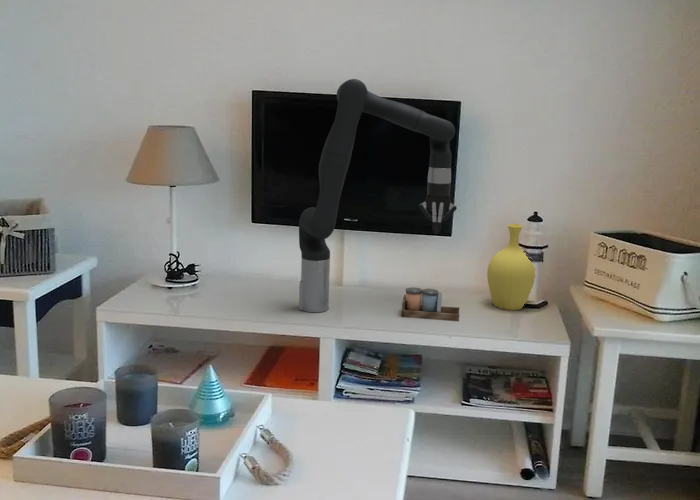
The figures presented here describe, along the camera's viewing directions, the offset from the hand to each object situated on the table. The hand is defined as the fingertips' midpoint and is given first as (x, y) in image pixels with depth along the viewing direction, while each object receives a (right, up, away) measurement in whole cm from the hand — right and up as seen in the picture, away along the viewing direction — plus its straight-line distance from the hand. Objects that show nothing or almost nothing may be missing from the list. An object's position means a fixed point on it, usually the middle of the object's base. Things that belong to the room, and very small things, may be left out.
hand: (436, 232), depth 260 cm
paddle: (0, -27, -10) cm, 28 cm away
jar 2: (-3, -26, -9) cm, 28 cm away
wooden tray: (-3, -28, -9) cm, 29 cm away
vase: (+26, -25, +8) cm, 37 cm away
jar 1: (-8, -26, -9) cm, 29 cm away
